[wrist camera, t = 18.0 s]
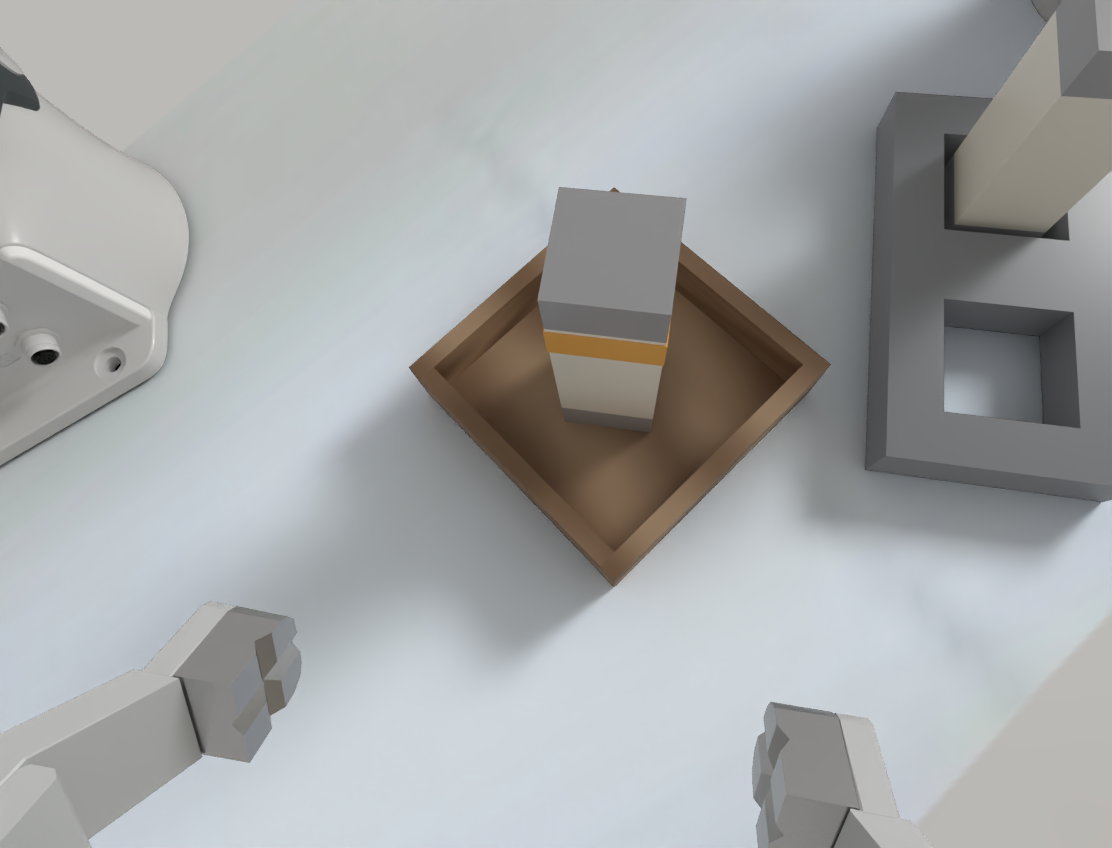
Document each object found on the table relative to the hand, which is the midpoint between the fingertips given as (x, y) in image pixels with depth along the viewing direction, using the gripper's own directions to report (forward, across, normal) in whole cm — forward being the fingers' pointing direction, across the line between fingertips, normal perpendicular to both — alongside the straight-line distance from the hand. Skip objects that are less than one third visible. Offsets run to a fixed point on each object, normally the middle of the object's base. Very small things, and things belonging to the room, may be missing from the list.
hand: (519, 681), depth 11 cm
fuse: (+30, -17, -4) cm, 35 cm away
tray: (+22, 0, +5) cm, 23 cm away
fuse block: (+27, -17, 0) cm, 32 cm away
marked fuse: (+21, 0, +4) cm, 22 cm away
